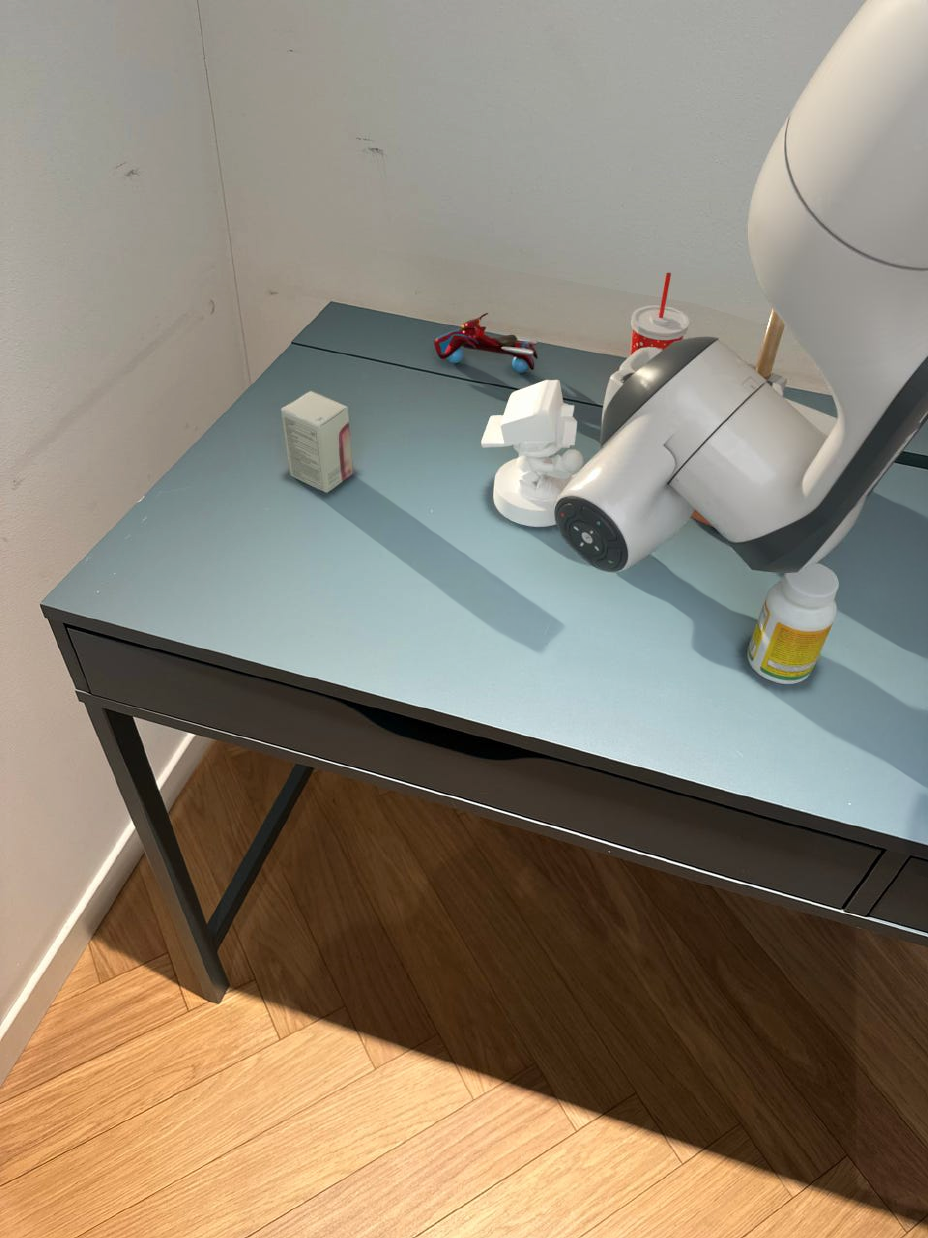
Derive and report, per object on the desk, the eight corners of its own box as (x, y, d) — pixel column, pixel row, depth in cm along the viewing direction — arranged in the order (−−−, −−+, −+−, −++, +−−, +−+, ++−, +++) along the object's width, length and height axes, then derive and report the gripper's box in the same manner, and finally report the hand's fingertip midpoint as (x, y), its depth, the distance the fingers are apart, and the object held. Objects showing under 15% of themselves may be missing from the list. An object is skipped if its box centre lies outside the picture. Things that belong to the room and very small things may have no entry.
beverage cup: (673, 410, 106) (698, 290, 96) (617, 403, 107) (636, 283, 97) (675, 381, 110) (699, 263, 100) (622, 374, 111) (641, 257, 101)
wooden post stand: (769, 466, 95) (824, 290, 82) (750, 493, 92) (804, 314, 79) (720, 448, 97) (766, 274, 84) (700, 473, 94) (744, 296, 81)
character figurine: (572, 533, 91) (586, 425, 82) (474, 517, 92) (478, 409, 84) (584, 478, 97) (599, 372, 88) (492, 464, 98) (498, 359, 90)
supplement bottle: (733, 650, 80) (761, 565, 74) (783, 631, 82) (815, 546, 75) (774, 695, 77) (807, 610, 70) (826, 674, 79) (863, 589, 72)
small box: (355, 473, 96) (350, 406, 91) (326, 495, 94) (319, 426, 88) (317, 455, 98) (310, 388, 93) (288, 475, 96) (279, 407, 90)
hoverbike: (439, 347, 114) (439, 303, 110) (538, 362, 112) (542, 317, 108) (428, 369, 111) (428, 324, 107) (530, 385, 109) (534, 339, 105)
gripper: (818, 461, 74) (886, 387, 81) (594, 368, 82) (674, 309, 90) (796, 524, 78) (861, 448, 86) (585, 430, 87) (662, 369, 95)
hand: (764, 376), depth 88 cm, fingers closed on wooden post stand
